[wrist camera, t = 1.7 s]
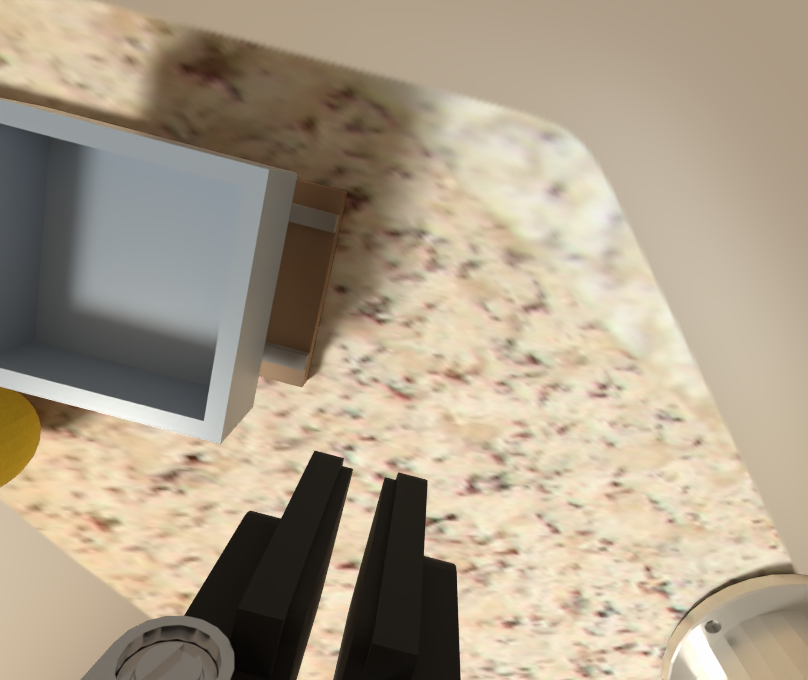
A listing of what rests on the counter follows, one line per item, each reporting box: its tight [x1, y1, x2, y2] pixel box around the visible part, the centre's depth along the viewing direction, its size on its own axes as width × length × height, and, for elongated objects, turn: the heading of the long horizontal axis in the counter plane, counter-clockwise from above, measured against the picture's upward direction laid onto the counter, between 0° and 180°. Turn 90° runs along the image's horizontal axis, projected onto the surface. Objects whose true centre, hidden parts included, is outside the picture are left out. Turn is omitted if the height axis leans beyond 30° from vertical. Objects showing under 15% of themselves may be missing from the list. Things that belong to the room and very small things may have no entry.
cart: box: [0, 98, 298, 444], centre depth 24 cm, size 11×11×6 cm
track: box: [259, 179, 348, 387], centre depth 27 cm, size 26×10×4 cm, turn 76°
